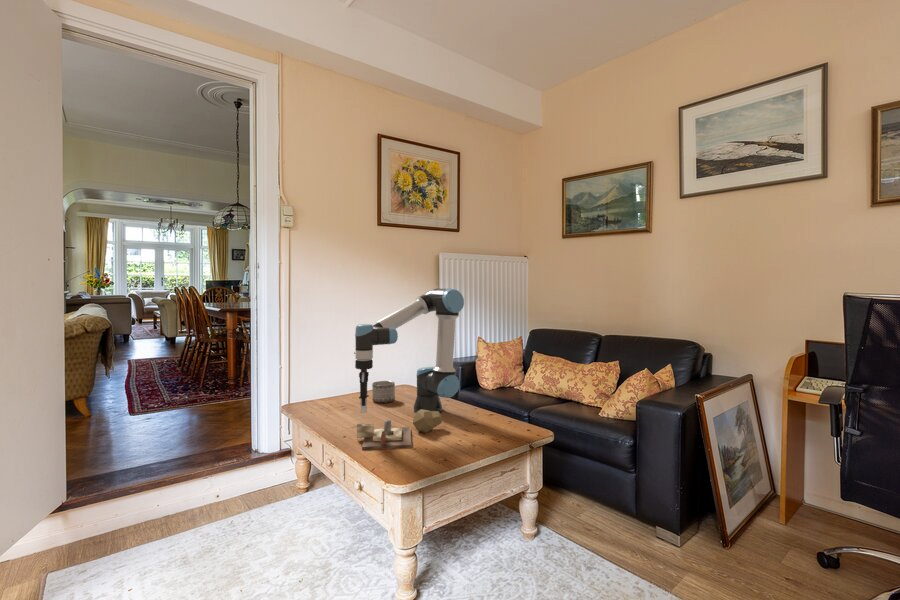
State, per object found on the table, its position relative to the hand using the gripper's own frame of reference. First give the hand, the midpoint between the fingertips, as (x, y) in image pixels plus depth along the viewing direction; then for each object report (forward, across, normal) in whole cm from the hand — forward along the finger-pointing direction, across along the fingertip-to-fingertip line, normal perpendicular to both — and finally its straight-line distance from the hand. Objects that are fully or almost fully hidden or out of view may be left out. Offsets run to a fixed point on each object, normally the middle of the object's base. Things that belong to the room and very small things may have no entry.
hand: (363, 412), depth 194 cm
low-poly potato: (+10, -3, +29) cm, 31 cm away
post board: (+10, +6, +11) cm, 16 cm away
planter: (+10, -56, +7) cm, 57 cm away
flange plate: (+9, +6, +7) cm, 13 cm away
